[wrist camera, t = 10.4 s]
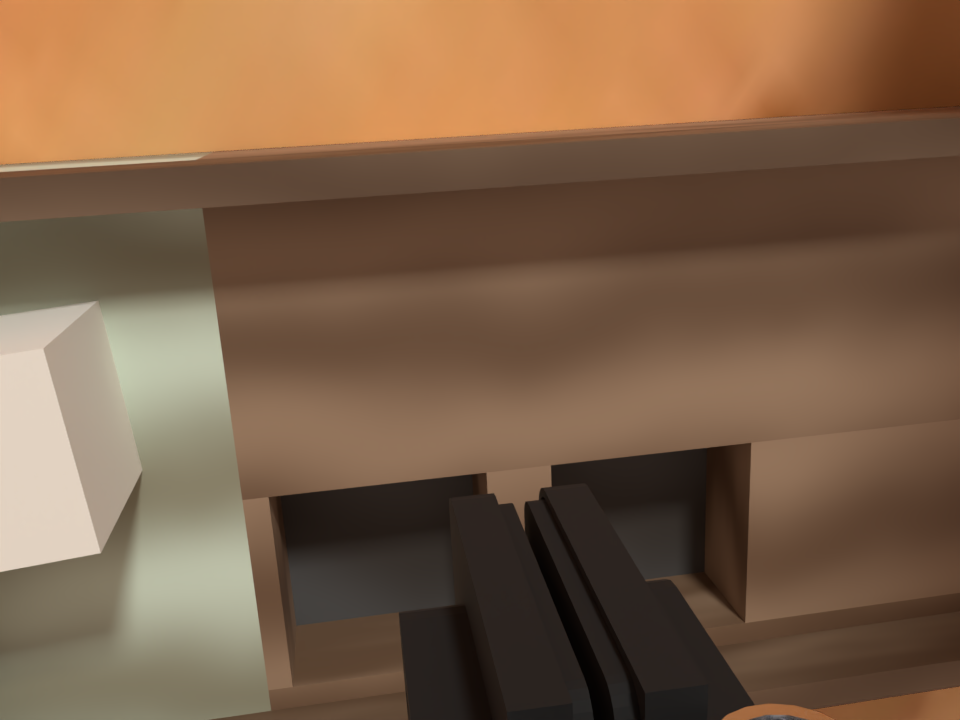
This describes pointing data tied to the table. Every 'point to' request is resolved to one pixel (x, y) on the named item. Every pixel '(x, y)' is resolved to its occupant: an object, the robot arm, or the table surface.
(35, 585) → the box
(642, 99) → the table surface
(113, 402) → the block
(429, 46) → the table surface
